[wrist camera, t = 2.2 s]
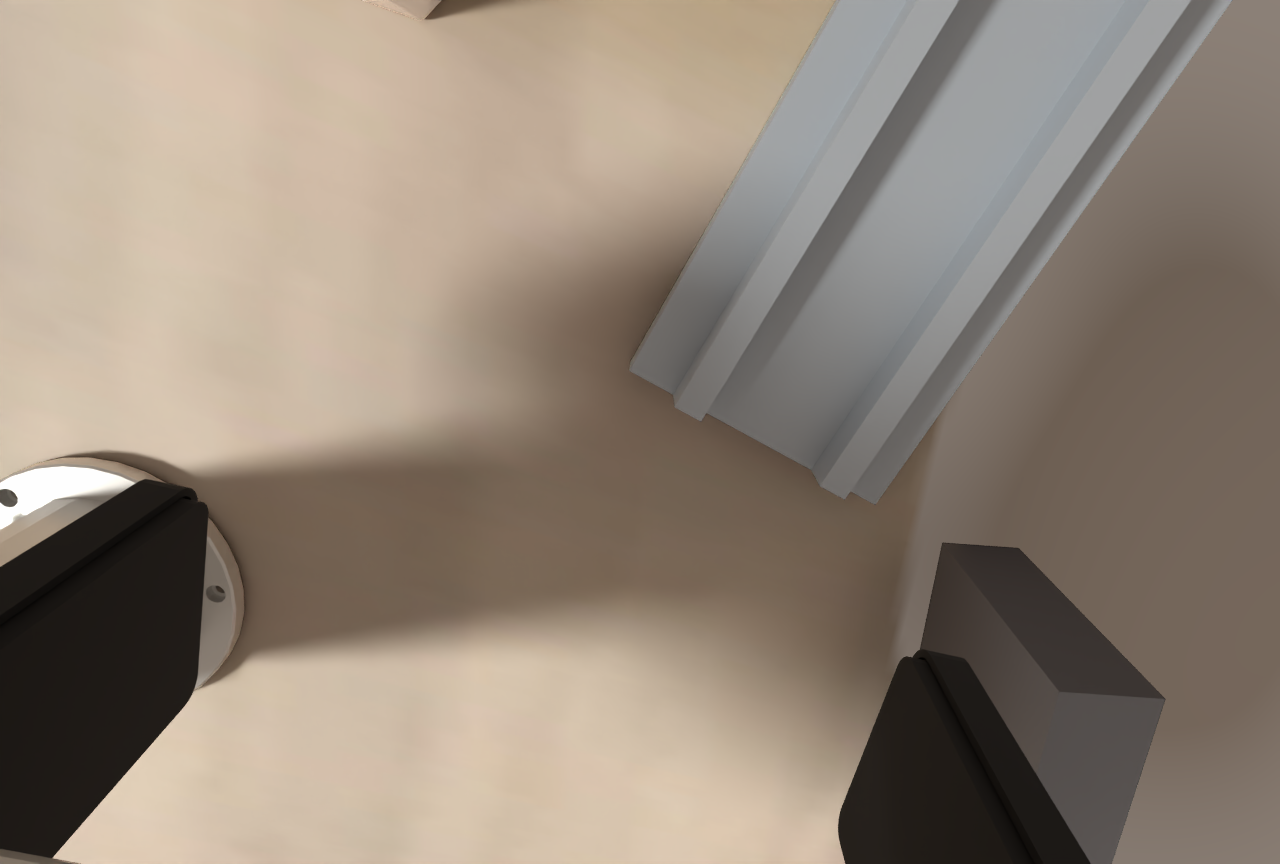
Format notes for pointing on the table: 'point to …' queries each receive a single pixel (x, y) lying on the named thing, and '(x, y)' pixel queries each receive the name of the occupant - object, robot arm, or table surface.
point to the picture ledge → (904, 215)
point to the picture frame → (1048, 684)
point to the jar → (408, 7)
